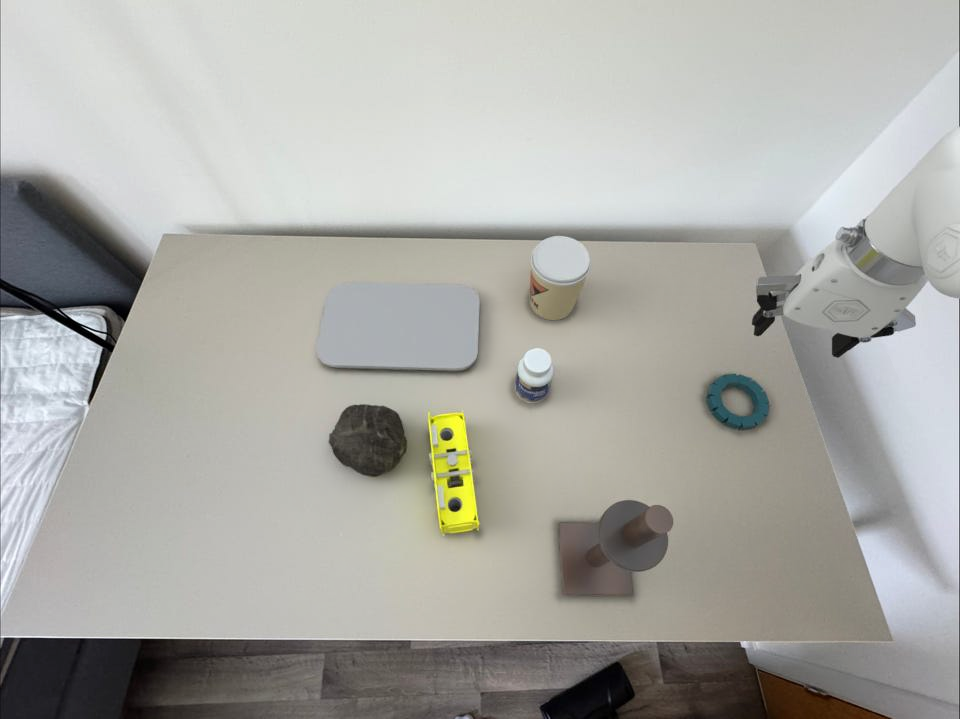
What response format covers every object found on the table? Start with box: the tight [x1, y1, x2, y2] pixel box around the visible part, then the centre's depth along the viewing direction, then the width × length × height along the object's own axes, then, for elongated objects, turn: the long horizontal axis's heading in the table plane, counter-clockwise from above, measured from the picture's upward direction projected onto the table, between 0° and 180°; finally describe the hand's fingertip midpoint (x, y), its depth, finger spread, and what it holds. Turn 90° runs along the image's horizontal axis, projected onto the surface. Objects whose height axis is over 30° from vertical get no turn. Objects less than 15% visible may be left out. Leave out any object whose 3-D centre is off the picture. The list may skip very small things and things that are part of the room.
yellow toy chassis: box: [427, 409, 481, 537], centre depth 69 cm, size 16×6×8 cm, turn 8°
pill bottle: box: [514, 347, 555, 404], centre depth 75 cm, size 5×5×10 cm
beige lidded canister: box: [529, 235, 592, 321], centre depth 82 cm, size 9×9×12 cm
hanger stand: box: [557, 499, 674, 597], centre depth 55 cm, size 9×9×28 cm
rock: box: [328, 403, 408, 478], centre depth 71 cm, size 10×11×10 cm
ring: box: [705, 373, 771, 431], centre depth 78 cm, size 9×9×2 cm
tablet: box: [315, 281, 481, 372], centre depth 84 cm, size 16×26×2 cm, turn 88°
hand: (795, 337), depth 65 cm, fingers open, 9 cm apart
